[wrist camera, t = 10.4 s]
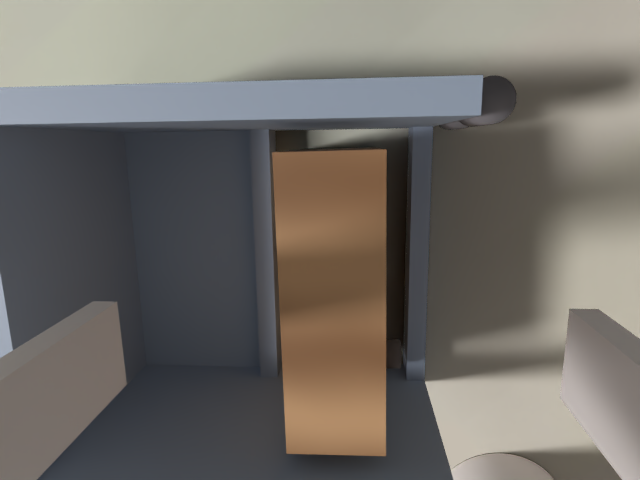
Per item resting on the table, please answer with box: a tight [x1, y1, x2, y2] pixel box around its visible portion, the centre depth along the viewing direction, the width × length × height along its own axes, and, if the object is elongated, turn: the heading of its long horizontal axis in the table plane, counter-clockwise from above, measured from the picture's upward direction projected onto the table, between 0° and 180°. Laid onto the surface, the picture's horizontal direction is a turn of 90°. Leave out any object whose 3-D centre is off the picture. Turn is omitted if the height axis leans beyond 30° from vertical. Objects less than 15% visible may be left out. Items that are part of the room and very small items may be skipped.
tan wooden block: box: [272, 148, 401, 456], centre depth 22 cm, size 12×5×10 cm, turn 2°
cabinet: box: [0, 75, 516, 480], centre depth 22 cm, size 17×20×11 cm
